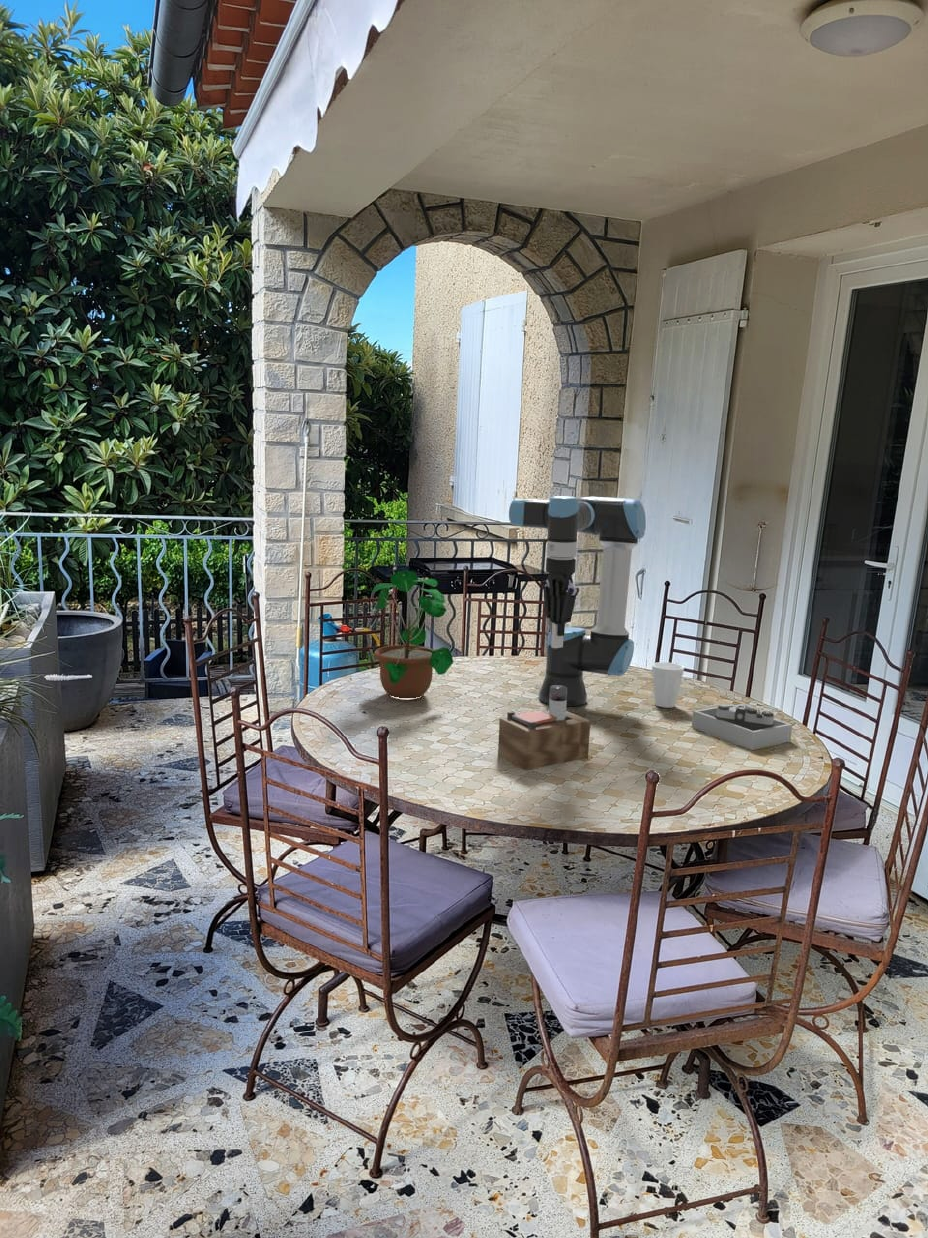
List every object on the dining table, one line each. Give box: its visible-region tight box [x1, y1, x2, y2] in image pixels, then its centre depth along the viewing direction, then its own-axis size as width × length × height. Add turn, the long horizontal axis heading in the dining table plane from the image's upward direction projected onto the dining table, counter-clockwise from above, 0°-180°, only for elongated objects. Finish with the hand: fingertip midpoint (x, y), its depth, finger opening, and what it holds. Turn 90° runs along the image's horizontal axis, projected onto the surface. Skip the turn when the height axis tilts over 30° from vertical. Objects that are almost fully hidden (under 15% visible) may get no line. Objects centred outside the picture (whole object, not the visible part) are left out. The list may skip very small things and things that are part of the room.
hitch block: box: [497, 710, 591, 771], centre depth 225 cm, size 20×12×12 cm, turn 122°
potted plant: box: [371, 570, 454, 698], centre depth 275 cm, size 31×29×40 cm
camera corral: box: [691, 704, 793, 751], centre depth 251 cm, size 16×22×5 cm
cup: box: [651, 661, 685, 708], centre depth 276 cm, size 10×10×13 cm
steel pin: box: [548, 685, 567, 722], centre depth 227 cm, size 4×4×16 cm
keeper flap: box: [511, 709, 555, 726], centre depth 222 cm, size 8×7×1 cm
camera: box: [715, 703, 775, 731], centre depth 249 cm, size 16×10×10 cm, turn 65°
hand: (556, 647), depth 229 cm, fingers closed
